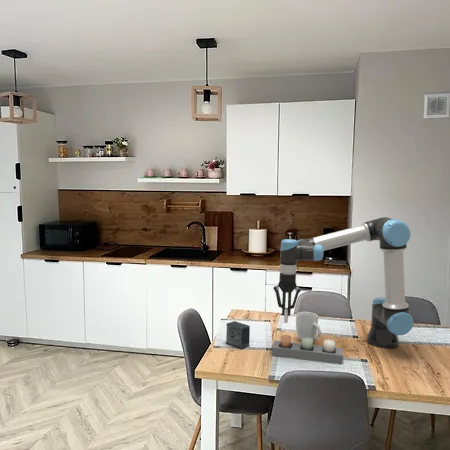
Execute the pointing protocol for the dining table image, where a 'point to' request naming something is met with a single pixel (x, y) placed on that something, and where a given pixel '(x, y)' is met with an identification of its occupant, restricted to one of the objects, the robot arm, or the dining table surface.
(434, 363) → the dining table surface
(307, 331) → the mug
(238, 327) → the small box
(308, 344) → the key sage
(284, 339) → the key terracotta
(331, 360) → the grey long block
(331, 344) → the key ivory
